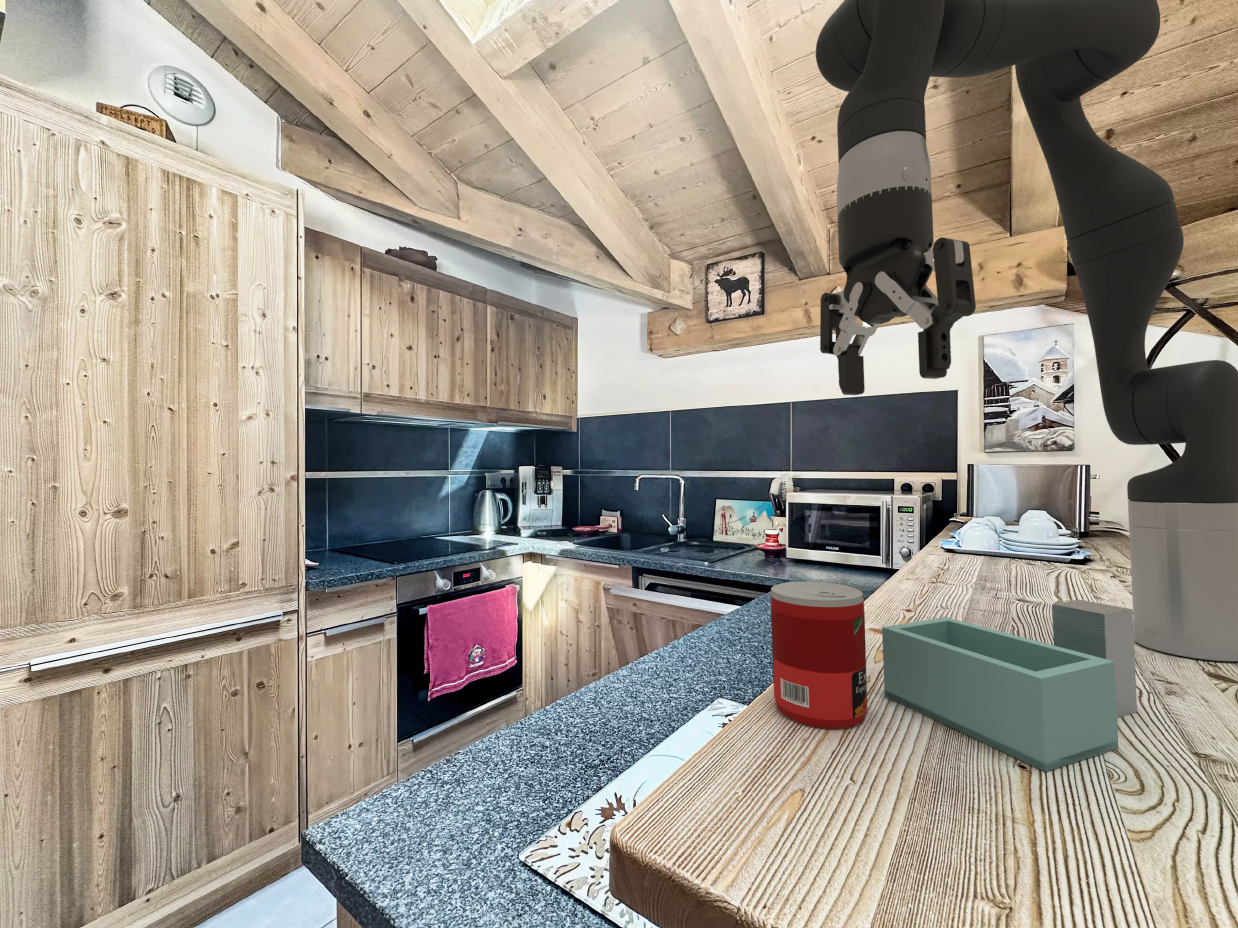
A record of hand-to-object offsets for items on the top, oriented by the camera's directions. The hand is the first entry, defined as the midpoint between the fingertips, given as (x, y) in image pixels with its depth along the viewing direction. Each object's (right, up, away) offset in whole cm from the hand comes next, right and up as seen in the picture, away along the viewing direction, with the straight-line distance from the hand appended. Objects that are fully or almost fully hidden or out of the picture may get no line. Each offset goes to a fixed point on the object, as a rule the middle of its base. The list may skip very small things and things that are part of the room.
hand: (889, 387), depth 46 cm
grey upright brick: (+19, -29, +1) cm, 34 cm away
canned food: (-6, -30, +1) cm, 30 cm away
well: (+8, -29, -1) cm, 30 cm away
